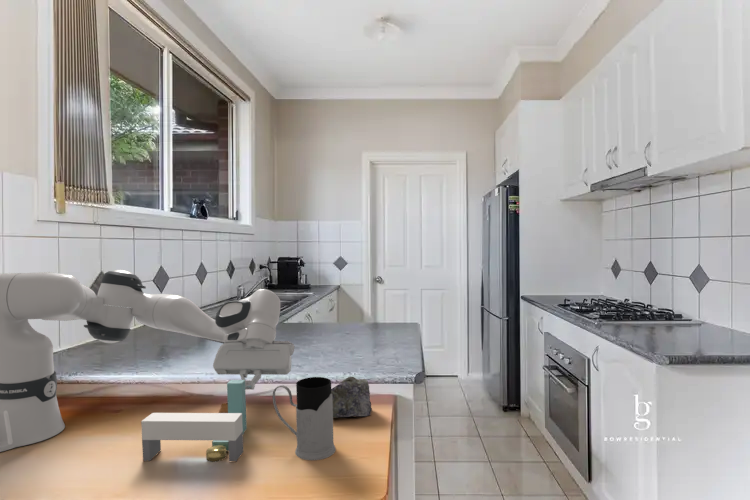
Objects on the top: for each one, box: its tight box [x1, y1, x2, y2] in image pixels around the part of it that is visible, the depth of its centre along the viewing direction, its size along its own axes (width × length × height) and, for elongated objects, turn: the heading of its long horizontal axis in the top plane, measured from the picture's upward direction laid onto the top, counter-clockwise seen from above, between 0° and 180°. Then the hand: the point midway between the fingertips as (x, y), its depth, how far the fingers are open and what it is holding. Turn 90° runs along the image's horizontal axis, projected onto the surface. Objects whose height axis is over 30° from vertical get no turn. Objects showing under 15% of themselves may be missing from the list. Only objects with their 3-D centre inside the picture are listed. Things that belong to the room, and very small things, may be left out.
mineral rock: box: [331, 376, 373, 419], centre depth 122 cm, size 13×11×10 cm
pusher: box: [211, 379, 248, 452], centre depth 109 cm, size 4×12×12 cm, turn 177°
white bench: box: [140, 412, 244, 462], centre depth 101 cm, size 20×4×8 cm, turn 87°
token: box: [205, 445, 227, 463], centre depth 101 cm, size 4×4×2 cm
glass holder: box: [272, 376, 336, 461], centre depth 103 cm, size 9×14×15 cm, turn 74°
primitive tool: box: [218, 402, 228, 413], centre depth 123 cm, size 19×6×4 cm, turn 8°
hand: (247, 388), depth 121 cm, fingers closed
